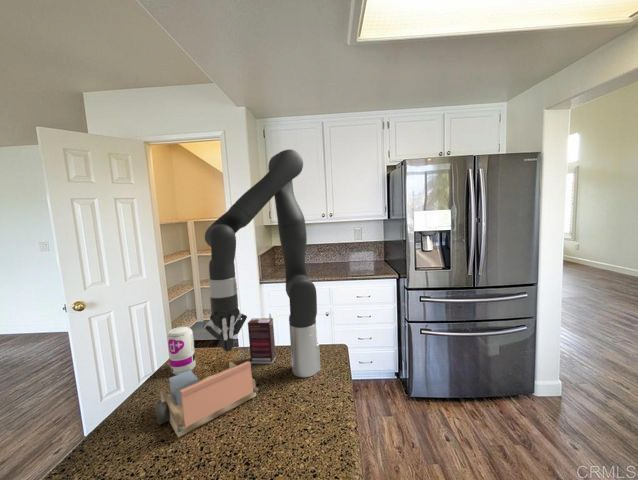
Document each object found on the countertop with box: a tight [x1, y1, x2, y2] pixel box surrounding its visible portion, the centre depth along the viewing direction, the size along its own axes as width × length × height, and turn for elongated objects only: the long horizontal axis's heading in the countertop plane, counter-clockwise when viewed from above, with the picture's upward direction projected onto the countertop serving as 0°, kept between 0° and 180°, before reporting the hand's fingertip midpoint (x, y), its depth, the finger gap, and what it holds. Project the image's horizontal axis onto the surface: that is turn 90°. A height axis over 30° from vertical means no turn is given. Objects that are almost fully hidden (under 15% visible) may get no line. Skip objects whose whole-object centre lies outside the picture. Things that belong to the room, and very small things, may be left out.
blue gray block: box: [168, 370, 200, 405], centre depth 81 cm, size 6×7×5 cm
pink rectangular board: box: [180, 360, 253, 428], centre depth 75 cm, size 19×1×9 cm, turn 133°
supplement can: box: [167, 325, 197, 376], centre depth 100 cm, size 8×8×15 cm
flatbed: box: [154, 361, 259, 438], centre depth 81 cm, size 27×18×5 cm, turn 133°
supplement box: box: [247, 317, 277, 365], centre depth 104 cm, size 9×5×16 cm, turn 82°
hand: (227, 350), depth 81 cm, fingers closed
